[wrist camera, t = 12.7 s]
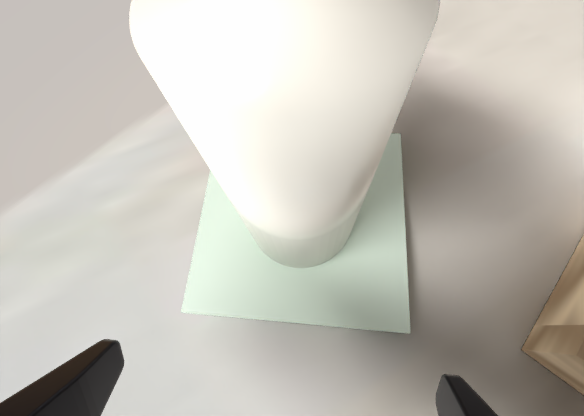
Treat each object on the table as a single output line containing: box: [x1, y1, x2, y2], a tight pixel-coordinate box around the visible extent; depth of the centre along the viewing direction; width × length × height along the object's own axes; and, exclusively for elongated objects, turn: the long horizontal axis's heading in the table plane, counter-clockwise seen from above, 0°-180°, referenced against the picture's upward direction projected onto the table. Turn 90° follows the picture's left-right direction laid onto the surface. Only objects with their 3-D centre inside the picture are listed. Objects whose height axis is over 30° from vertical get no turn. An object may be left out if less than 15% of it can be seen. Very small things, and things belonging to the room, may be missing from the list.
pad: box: [181, 133, 411, 334], centre depth 18 cm, size 12×12×1 cm
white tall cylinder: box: [129, 0, 440, 268], centre depth 12 cm, size 8×6×13 cm
